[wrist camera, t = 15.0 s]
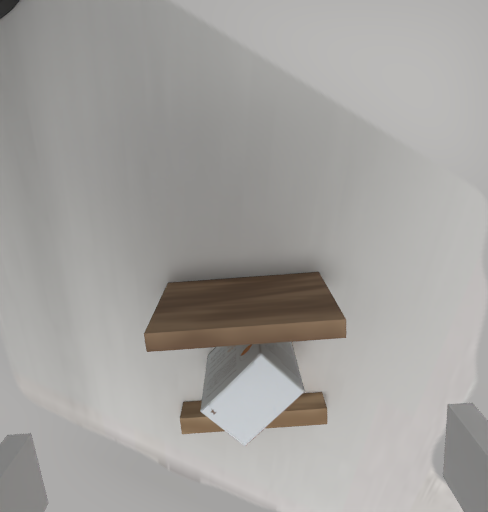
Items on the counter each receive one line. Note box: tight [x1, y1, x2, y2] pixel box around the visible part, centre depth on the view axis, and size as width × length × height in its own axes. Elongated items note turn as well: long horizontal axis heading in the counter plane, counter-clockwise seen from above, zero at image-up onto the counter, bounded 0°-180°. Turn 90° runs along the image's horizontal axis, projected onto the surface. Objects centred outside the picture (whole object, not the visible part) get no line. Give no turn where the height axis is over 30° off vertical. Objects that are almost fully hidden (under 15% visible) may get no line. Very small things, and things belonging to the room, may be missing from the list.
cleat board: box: [144, 272, 346, 434], centre depth 42 cm, size 17×16×12 cm
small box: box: [200, 342, 305, 446], centre depth 43 cm, size 8×6×10 cm
